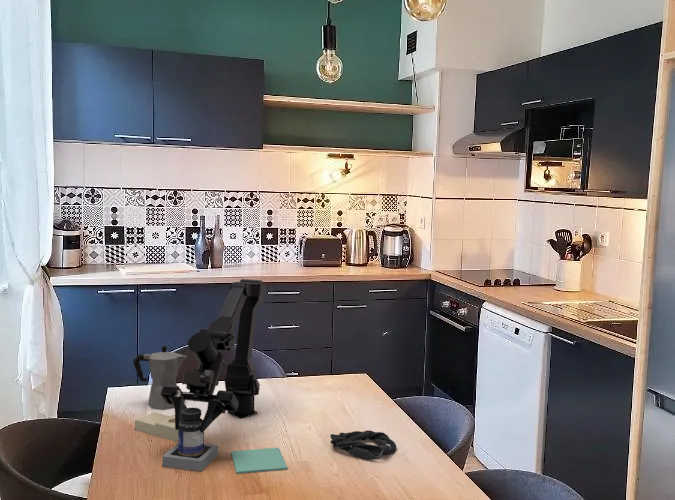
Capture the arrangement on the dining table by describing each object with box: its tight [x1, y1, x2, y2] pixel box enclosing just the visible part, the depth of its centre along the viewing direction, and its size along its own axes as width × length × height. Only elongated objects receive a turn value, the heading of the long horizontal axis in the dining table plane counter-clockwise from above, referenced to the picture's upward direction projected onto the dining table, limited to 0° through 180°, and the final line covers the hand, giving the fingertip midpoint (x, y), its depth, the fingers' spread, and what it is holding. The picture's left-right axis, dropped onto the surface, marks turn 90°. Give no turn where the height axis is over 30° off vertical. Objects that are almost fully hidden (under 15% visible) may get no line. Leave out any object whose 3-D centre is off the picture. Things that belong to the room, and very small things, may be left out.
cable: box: [329, 430, 397, 461], centre depth 170 cm, size 17×14×4 cm
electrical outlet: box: [134, 411, 178, 443], centre depth 177 cm, size 7×4×18 cm
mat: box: [230, 447, 289, 475], centre depth 160 cm, size 12×12×1 cm
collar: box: [161, 442, 219, 472], centre depth 159 cm, size 10×10×2 cm
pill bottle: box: [177, 407, 205, 459], centre depth 159 cm, size 6×6×11 cm
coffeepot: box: [132, 345, 188, 411], centre depth 197 cm, size 15×9×18 cm, turn 103°
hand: (188, 430), depth 157 cm, fingers closed on pill bottle, 6 cm apart
